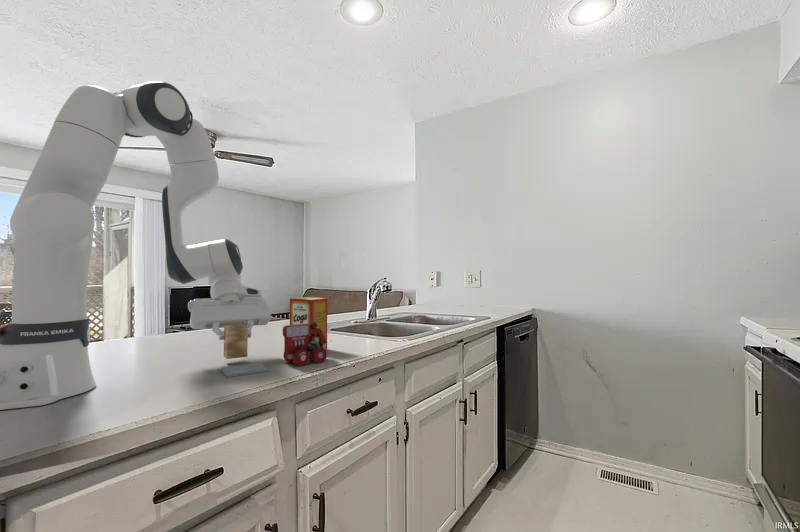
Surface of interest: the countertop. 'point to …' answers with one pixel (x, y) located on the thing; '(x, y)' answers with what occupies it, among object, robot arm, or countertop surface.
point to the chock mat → (243, 369)
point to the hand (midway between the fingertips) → (235, 337)
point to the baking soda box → (309, 312)
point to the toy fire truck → (304, 344)
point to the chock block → (235, 341)
